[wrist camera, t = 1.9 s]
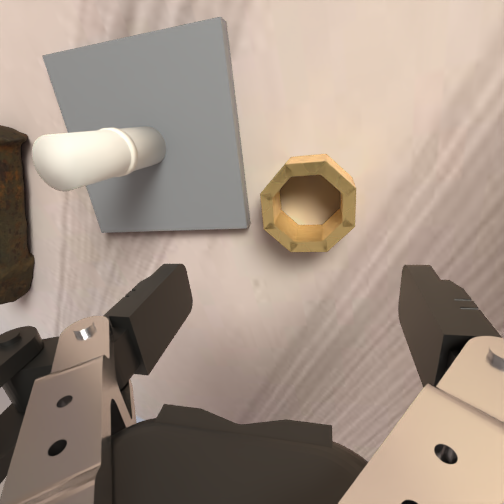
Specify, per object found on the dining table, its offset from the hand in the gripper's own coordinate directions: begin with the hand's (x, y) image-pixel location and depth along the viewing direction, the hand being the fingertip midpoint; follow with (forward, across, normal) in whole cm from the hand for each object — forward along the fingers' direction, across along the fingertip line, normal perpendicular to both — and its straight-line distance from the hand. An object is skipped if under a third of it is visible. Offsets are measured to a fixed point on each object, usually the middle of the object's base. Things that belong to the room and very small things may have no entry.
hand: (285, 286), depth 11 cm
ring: (+14, 0, 0) cm, 14 cm away
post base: (+14, +12, -5) cm, 19 cm away
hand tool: (+14, +28, +1) cm, 32 cm away
